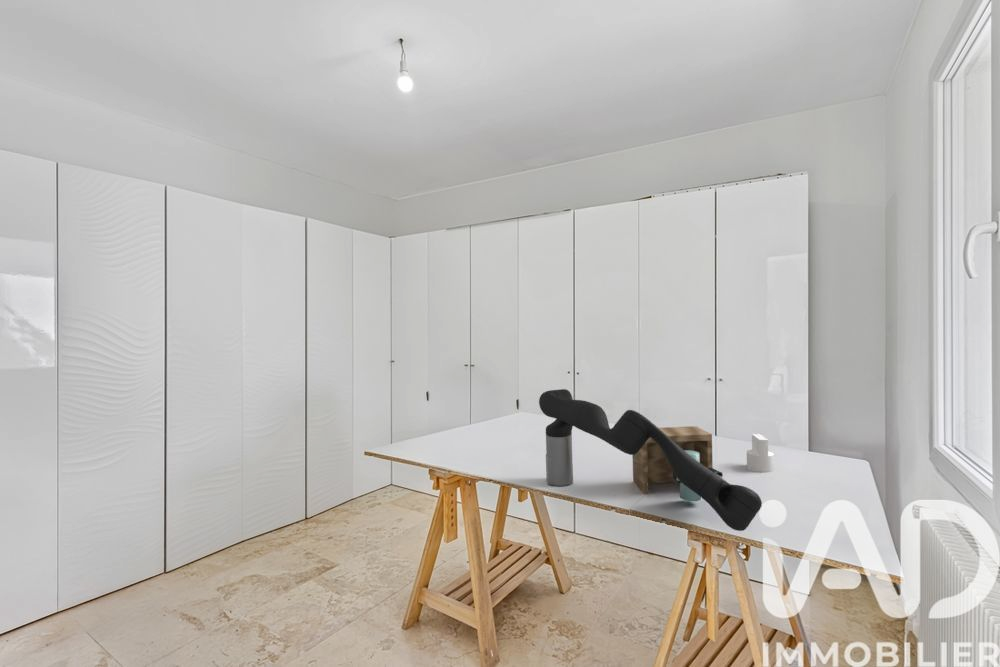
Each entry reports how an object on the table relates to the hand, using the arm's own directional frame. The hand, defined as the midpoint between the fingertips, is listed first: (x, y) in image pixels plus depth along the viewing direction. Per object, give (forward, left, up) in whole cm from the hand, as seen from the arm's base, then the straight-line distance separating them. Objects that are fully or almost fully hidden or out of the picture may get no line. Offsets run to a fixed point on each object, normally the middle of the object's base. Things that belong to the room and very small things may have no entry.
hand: (686, 468), depth 152 cm
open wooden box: (0, +13, -10) cm, 16 cm away
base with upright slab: (+39, +28, -11) cm, 49 cm away
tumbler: (0, -3, -8) cm, 9 cm away
